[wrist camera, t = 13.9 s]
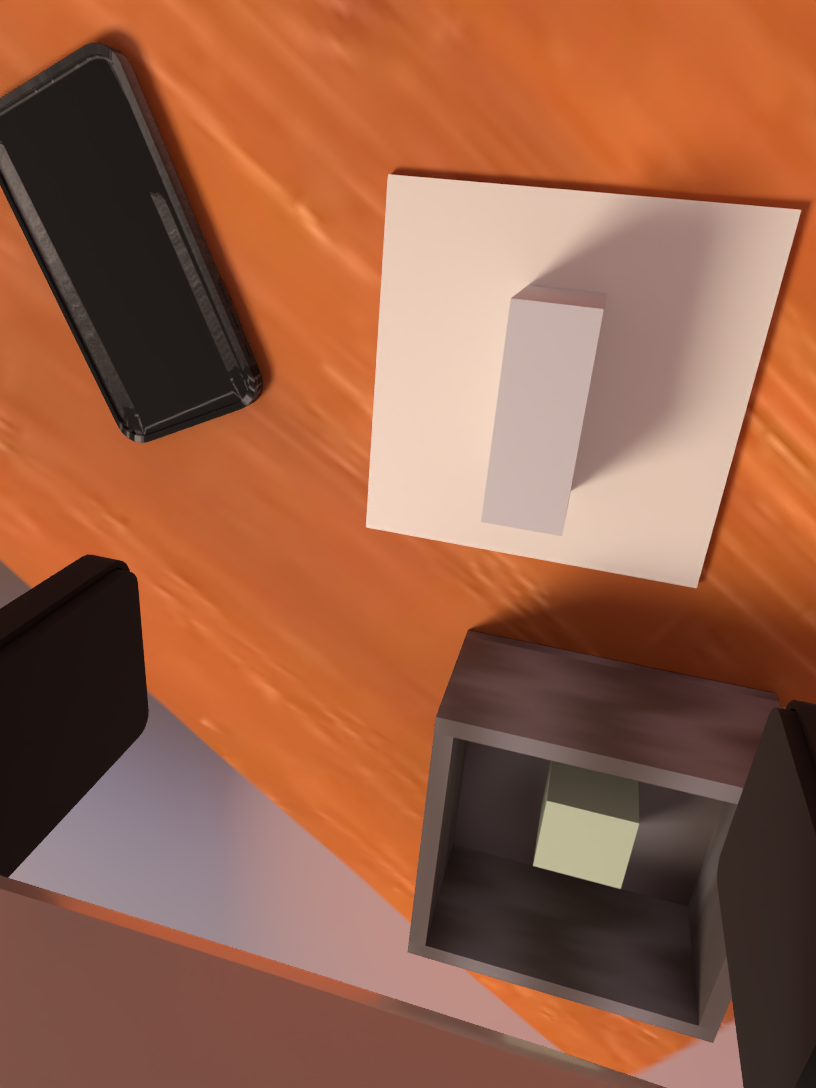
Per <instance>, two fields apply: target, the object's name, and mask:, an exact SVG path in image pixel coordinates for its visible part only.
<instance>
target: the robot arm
mask: <svg viewBox="0 0 816 1088" xmlns="http://www.w3.org/2000/svg"><path fill="white" fill-rule="evenodd" d="M147 719H148V698H147V686H146V675H145V663H144V651H143V639H142V627H141V615H140V603H139V591H138V582H137V578H136V576H135V574H133V573H132V572H130V570H129V568H128V566H127V564H126V563H124V562H123V561H120V560H115V559H110V558H105V557H100V556H95V555H85V556H83V557H81V558H79V559H78V560H76V561H75V562H73V563H72V564H70V565H68V566H67V567H65V568H64V569H62V570H61V571H59V572H57V573H56V574H54V575H53V576H51V577H50V578H48V579H46V580H45V581H43V582H42V583H40V584H39V585H37V586H35V587H34V588H32V589H31V590H29V591H28V592H26V593H25V594H23V595H21V596H20V597H18V598H17V599H15V600H13V601H12V602H10V603H9V604H7V605H6V606H4V607H2V608H1V609H0V1088H666V1087H663V1086H660V1085H657V1084H654V1083H651V1082H648V1081H645V1080H642V1079H639V1078H636V1077H633V1076H630V1075H627V1074H624V1073H621V1072H618V1071H615V1070H613V1069H610V1068H607V1067H604V1066H601V1065H598V1064H595V1063H592V1062H589V1061H586V1060H583V1059H580V1058H577V1057H574V1056H571V1055H568V1054H565V1053H562V1052H559V1051H556V1050H553V1049H550V1048H547V1047H544V1046H540V1045H537V1044H534V1043H531V1042H528V1041H525V1040H522V1039H518V1038H516V1037H512V1036H509V1035H506V1034H503V1033H500V1032H497V1031H493V1030H491V1029H487V1028H484V1027H481V1026H478V1025H475V1024H472V1023H469V1022H466V1021H462V1020H459V1019H456V1018H453V1017H450V1016H447V1015H443V1014H440V1013H437V1012H434V1011H431V1010H428V1009H425V1008H422V1007H418V1006H415V1005H412V1004H409V1003H406V1002H403V1001H400V1000H397V999H393V998H390V997H388V996H384V995H381V994H378V993H375V992H372V991H368V990H366V989H362V988H359V987H356V986H353V985H350V984H347V983H343V982H341V981H337V980H334V979H331V978H328V977H325V976H321V975H318V974H315V973H312V972H309V971H305V970H302V969H299V968H296V967H293V966H290V965H286V964H283V963H280V962H277V961H274V960H271V959H267V958H264V957H261V956H258V955H254V954H251V953H248V952H245V951H242V950H239V949H236V948H233V947H229V946H226V945H223V944H220V943H216V942H213V941H210V940H207V939H204V938H201V937H197V936H194V935H191V934H188V933H185V932H181V931H178V930H175V929H172V928H169V927H165V926H162V925H159V924H156V923H153V922H149V921H146V920H143V919H140V918H137V917H133V916H130V915H127V914H124V913H121V912H117V911H114V910H111V909H108V908H104V907H101V906H98V905H95V904H91V903H88V902H85V901H82V900H78V899H75V898H72V897H68V896H65V895H62V894H59V893H56V892H52V891H49V890H46V889H43V888H39V887H36V886H32V885H29V884H26V883H23V882H20V881H17V880H13V879H10V878H8V877H9V876H10V875H11V874H12V873H13V872H14V871H15V870H16V869H17V867H18V866H19V865H20V864H21V863H22V862H23V861H24V860H25V859H26V858H27V857H28V856H29V855H30V854H31V852H32V851H33V850H34V849H35V848H36V847H37V846H38V845H39V844H40V843H41V842H42V841H43V840H44V838H45V837H46V836H47V835H48V834H49V833H50V832H51V831H52V830H53V829H54V828H55V827H56V826H57V824H58V823H59V822H60V821H61V820H62V819H63V818H64V817H65V816H66V815H67V814H68V812H70V810H71V809H72V808H73V807H74V806H75V805H76V804H77V803H78V802H79V801H80V800H81V798H82V797H83V796H84V795H85V794H86V793H87V792H88V791H89V790H90V789H91V788H92V787H93V786H94V785H95V784H96V782H97V781H98V780H99V779H100V778H101V777H102V776H103V775H104V774H105V773H106V772H107V771H108V770H109V768H110V767H111V766H112V765H113V764H114V763H115V762H116V761H117V760H118V759H119V758H120V757H121V755H122V754H123V753H124V752H125V751H126V750H127V749H128V748H129V747H130V746H131V745H132V744H133V742H134V741H135V740H136V739H137V738H138V737H139V736H140V735H141V733H142V732H143V730H144V728H145V726H146V723H147ZM717 886H718V894H719V902H720V910H721V917H722V925H723V933H724V940H725V948H726V956H727V963H728V971H729V979H730V986H731V994H732V1002H733V1010H734V1017H735V1025H736V1033H737V1040H738V1047H739V1055H740V1063H741V1071H742V1078H743V1086H744V1088H816V704H811V703H807V702H802V701H797V700H793V701H791V702H790V703H789V704H788V705H787V707H786V709H781V708H777V707H775V708H773V709H772V710H771V712H770V714H769V716H768V719H767V722H766V725H765V727H764V730H763V733H762V736H761V739H760V742H759V745H758V748H757V750H756V753H755V756H754V759H753V762H752V765H751V768H750V771H749V773H748V776H747V779H746V782H745V785H744V788H743V791H742V794H741V796H740V799H739V802H738V805H737V808H736V811H735V814H734V817H733V819H732V822H731V825H730V828H729V831H728V834H727V837H726V840H725V842H724V845H723V848H722V851H721V854H720V858H719V862H718V870H717Z"/></svg>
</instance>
